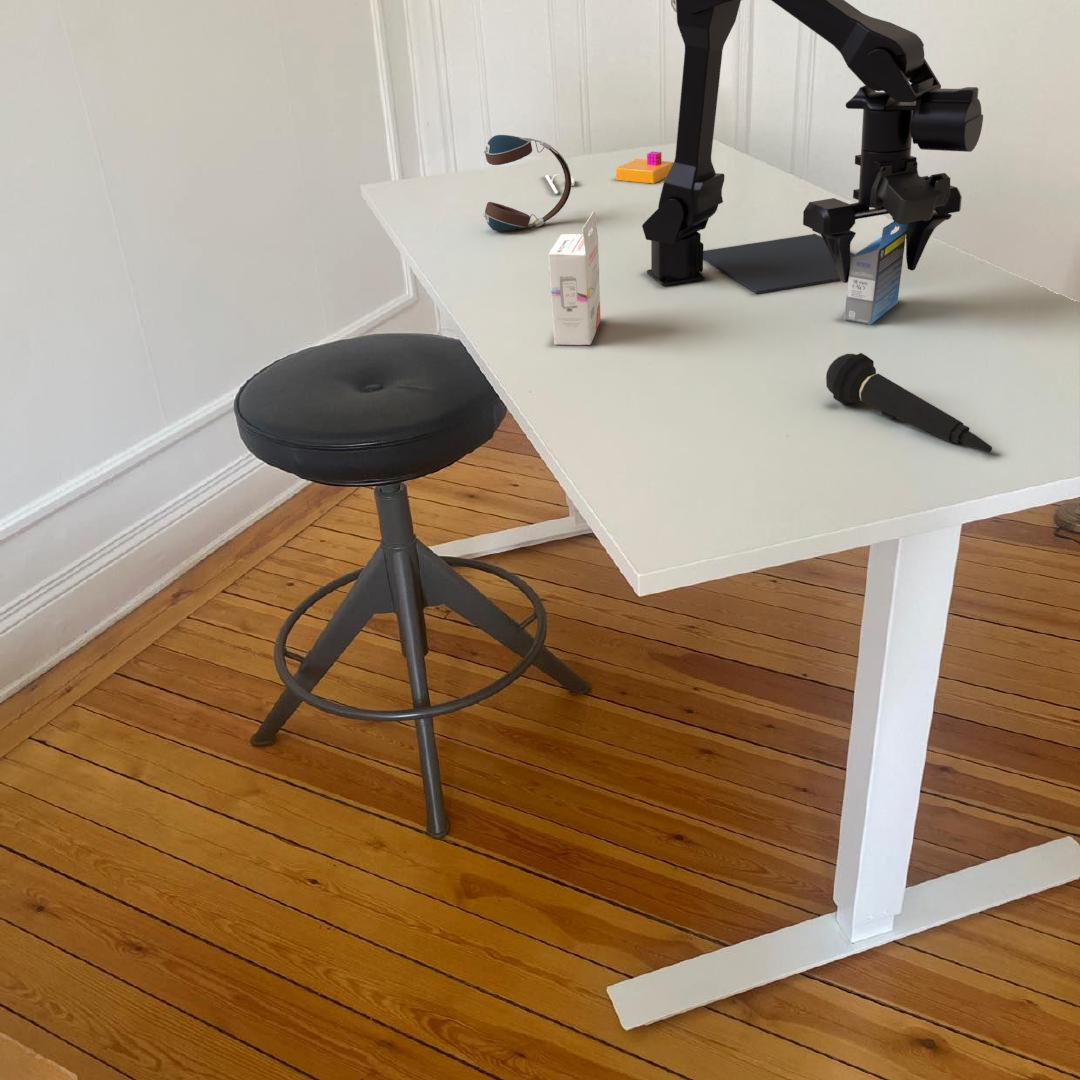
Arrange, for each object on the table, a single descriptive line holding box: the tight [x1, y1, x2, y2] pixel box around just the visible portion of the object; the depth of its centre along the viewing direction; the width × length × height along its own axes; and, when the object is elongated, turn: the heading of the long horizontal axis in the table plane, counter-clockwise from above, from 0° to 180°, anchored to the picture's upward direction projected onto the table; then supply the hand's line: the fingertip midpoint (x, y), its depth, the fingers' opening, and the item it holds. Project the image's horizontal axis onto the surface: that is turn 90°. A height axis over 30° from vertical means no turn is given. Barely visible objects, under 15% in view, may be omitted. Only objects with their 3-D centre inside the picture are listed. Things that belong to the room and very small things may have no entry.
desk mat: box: [703, 233, 856, 295], centre depth 162 cm, size 20×20×1 cm
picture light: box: [545, 173, 575, 195], centre depth 208 cm, size 14×4×2 cm, turn 8°
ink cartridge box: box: [547, 210, 601, 346], centre depth 139 cm, size 9×5×15 cm, turn 168°
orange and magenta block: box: [615, 151, 674, 185], centre depth 209 cm, size 8×8×4 cm
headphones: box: [483, 134, 572, 232], centre depth 181 cm, size 6×15×22 cm
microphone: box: [825, 352, 993, 454], centre depth 115 cm, size 6×6×20 cm
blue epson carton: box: [843, 220, 908, 326], centre depth 140 cm, size 9×4×12 cm, turn 144°
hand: (877, 275), depth 141 cm, fingers closed on blue epson carton, 9 cm apart
